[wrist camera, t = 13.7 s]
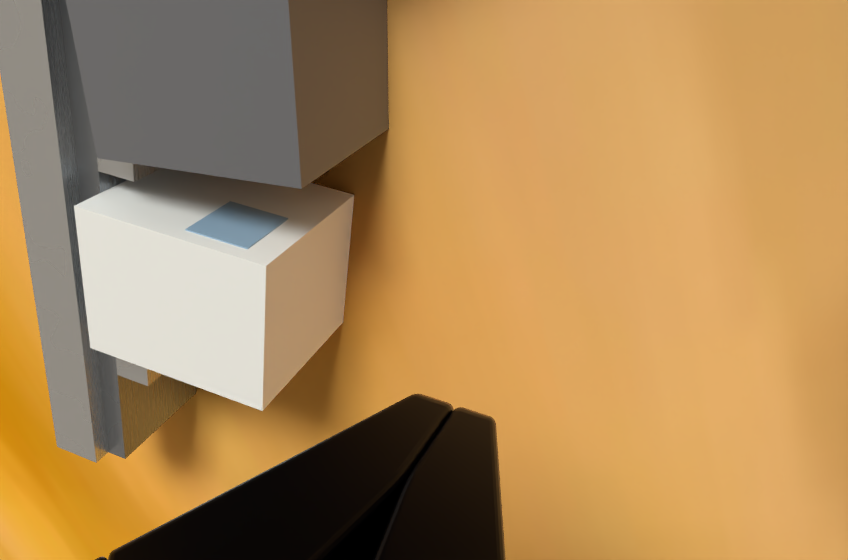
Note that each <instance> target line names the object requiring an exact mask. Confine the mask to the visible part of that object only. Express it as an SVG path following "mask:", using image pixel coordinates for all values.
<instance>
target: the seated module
mask: <svg viewBox="0 0 848 560" xmlns="http://www.w3.org/2000/svg"><path fill="white" fill-rule="evenodd" d="M66 4H67V9H68V14H69V19H70V24H71V29H72V34H73V39H74V44H75V49H76V54H77V59H78V64H79V69H80V74H81V79H82V84H83V89H84V94H85V100H86V105H87V110H88V115H89V120H90V125H91V130H92V135H93V140H94V145H95V150H96V155H97V158H99V159H106V160H112V161H119V162H126V163H132V164H139V165H146V166H152V167H159V168H166V169H172V170H179V171H186V172H192V173H199V174H206V175H212V176H219V177H226V178H232V179H239V180H245V181H252V182H259V183H265V184H272V185H279V186H285V187H292V188H299V189H302V188H304V187H305V186H307V185H308V184H309V183H311V182H312V181H314V180H315V179H317V178H318V177H320V176H321V175H322V174H324V173H325V172H327V171H328V170H330V169H331V168H333V167H334V166H335V165H337V164H338V163H340V162H341V161H343V160H344V159H346V158H347V157H349V156H350V155H351V154H353V153H354V152H356V151H357V150H359V149H360V148H362V147H363V146H364V145H366V144H367V143H369V142H370V141H372V140H373V139H375V138H376V137H377V136H379V135H380V134H382V133H383V132H385V131H386V130H388V129H389V115H388V38H387V0H66Z"/></svg>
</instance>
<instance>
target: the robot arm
mask: <svg viewBox="0 0 848 560" xmlns="http://www.w3.org/2000/svg"><path fill="white" fill-rule="evenodd" d="M95 560H107V558H105V557H99V558H97V559H95ZM108 560H505V546H504V532H503V518H502V504H501V490H500V476H499V462H498V447H497V433H496V423H495V421H494V419H493V418H492V417H490V416H487V415H484V414H481V413H478V412H475V411H472V410H469V409H465V408H461V407H460V408H456V409H455V410H454V409H453V407H452V406H451V404H449V403H447V402H444V401H441V400H438V399H435V398H432V397H428V396H425V395H422V394H414V395H411V396H409V397H407V398H405V399H403V400H401V401H399V402H397V403H395V404H393V405H391V406H389V407H388V408H386V409H384V410H382V411H380V412H378V413H376V414H374V415H372V416H370V417H368V418H366V419H365V420H363V421H361V422H359V423H357V424H355V425H353V426H351V427H349V428H347V429H345V430H343V431H342V432H340V433H338V434H336V435H334V436H332V437H330V438H328V439H326V440H324V441H322V442H320V443H318V444H317V445H315V446H313V447H311V448H309V449H307V450H305V451H303V452H301V453H299V454H297V455H295V456H294V457H292V458H290V459H288V460H286V461H284V462H282V463H280V464H278V465H276V466H274V467H272V468H271V469H269V470H267V471H265V472H263V473H261V474H259V475H257V476H255V477H253V478H251V479H249V480H247V481H246V482H244V483H242V484H240V485H238V486H236V487H234V488H232V489H230V490H228V491H226V492H224V493H223V494H221V495H219V496H217V497H215V498H213V499H211V500H209V501H207V502H205V503H203V504H201V505H200V506H198V507H196V508H194V509H192V510H190V511H188V512H186V513H184V514H182V515H180V516H178V517H177V518H175V519H173V520H171V521H169V522H167V523H165V524H163V525H161V526H159V527H157V528H155V529H153V530H152V531H150V532H148V533H146V534H144V535H142V536H140V537H138V538H136V539H134V540H132V541H130V542H129V543H127V544H125V545H123V546H121V547H119V548H117V549H115V550H113V551H112V552H111V553H110V555H109V558H108Z"/></svg>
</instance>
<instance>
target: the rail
mask: <svg viewBox="0 0 848 560" xmlns="http://www.w3.org/2000/svg"><path fill="white" fill-rule="evenodd" d="M0 74H1V80H2V87H3V93H4V100H5V107H6V113H7V120H8V126H9V133H10V139H11V146H12V153H13V159H14V166H15V172H16V179H17V185H18V192H19V199H20V205H21V212H22V218H23V225H24V231H25V238H26V244H27V251H28V258H29V264H30V271H31V277H32V284H33V290H34V297H35V304H36V310H37V317H38V323H39V330H40V336H41V343H42V350H43V356H44V363H45V369H46V376H47V382H48V389H49V395H50V402H51V409H52V415H53V422H54V428H55V435H56V441H57V447H59V448H62V449H64V450H67V451H69V452H72V453H74V454H76V455H79V456H81V457H84V458H86V459H89V460H91V461H94V462H96V463H97V462H98V461H99V460H100V459H101V458H102V457H103V456H104V455H106V454H107V453H108V452H110V453H112V454H115V455H117V456H120V457H122V458H124V459H126V458H127V457H128V456H129V455H130V454H131V453H132V452H133V451H134V450H135V449H136V448H137V447H138V446H140V445H141V444H142V443H143V442H144V441H145V440H146V439H147V438H148V437H149V436H150V435H151V434H152V433H154V432H155V431H156V430H157V429H158V428H159V427H160V426H161V425H162V424H163V423H164V422H165V421H166V420H167V419H169V418H170V417H171V416H172V415H173V414H174V413H175V412H176V411H177V410H178V409H179V408H180V407H181V406H183V405H184V404H185V403H186V402H187V401H188V400H189V399H190V398H191V397H192V396H193V395H194V394H195V393H196V386H193V385H190V384H187V383H185V382H182V381H179V380H176V379H174V378H171V377H168V376H166V375H163V374H160V373H157V372H155V371H152V370H149V369H146V368H144V367H141V366H138V365H136V364H133V363H130V362H127V361H125V360H122V359H119V358H116V357H114V356H111V355H108V354H105V353H103V352H100V351H97V350H95V349H92V348H90V341H89V332H88V323H87V315H86V306H85V298H84V289H83V280H82V272H81V263H80V254H79V246H78V237H77V228H76V220H75V211H74V206H75V205H77V204H79V203H81V202H83V201H85V200H87V199H89V198H91V197H93V196H95V195H97V194H99V193H101V192H104V191H106V190H108V189H110V188H112V187H114V186H116V185H118V184H120V183H122V182H124V181H126V180H130V181H133V182H135V181H137V180H139V179H141V178H143V177H145V176H147V175H149V174H151V173H153V172H155V171H157V170H159V169H161V168H159V167H152V166H146V165H139V164H132V163H126V162H119V161H112V160H106V159H99V158H97V155H96V150H95V145H94V140H93V135H92V130H91V125H90V120H89V115H88V110H87V105H86V100H85V94H84V89H83V84H82V79H81V74H80V69H79V64H78V59H77V54H76V49H75V44H74V39H73V34H72V29H71V24H70V19H69V14H68V9H67V4H66V0H0Z"/></svg>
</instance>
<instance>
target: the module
mask: <svg viewBox="0 0 848 560" xmlns="http://www.w3.org/2000/svg"><path fill="white" fill-rule="evenodd" d="M353 205H354V195H353V194H349V193H346V192H342V191H339V190H335V189H331V188H328V187H324V186H321V185H317V184H313V183H309V184H308V185H307V186H305V187H304V188H302V189H299V188H292V187H285V186H279V185H272V184H265V183H259V182H252V181H245V180H239V179H232V178H226V177H219V176H212V175H206V174H199V173H192V172H186V171H179V170H172V169H166V168H161V169H159V170H157V171H155V172H153V173H151V174H149V175H147V176H145V177H143V178H141V179H139V180H137V181H135V182H133V181H130V180H126V181H124V182H122V183H120V184H118V185H116V186H114V187H112V188H110V189H108V190H106V191H104V192H101V193H99V194H97V195H95V196H93V197H91V198H89V199H87V200H85V201H83V202H81V203H79V204H77V205H75V206H74V211H75V220H76V228H77V237H78V246H79V254H80V263H81V272H82V280H83V289H84V298H85V306H86V315H87V323H88V332H89V341H90V348H92V349H95V350H97V351H100V352H103V353H105V354H108V355H111V356H114V357H116V358H119V359H122V360H125V361H127V362H130V363H133V364H136V365H138V366H141V367H144V368H146V369H149V370H152V371H155V372H157V373H160V374H163V375H166V376H168V377H171V378H174V379H176V380H179V381H182V382H185V383H187V384H190V385H193V386H196V387H198V388H201V389H204V390H207V391H209V392H212V393H215V394H217V395H220V396H223V397H226V398H228V399H231V400H234V401H237V402H239V403H242V404H245V405H248V406H250V407H253V408H256V409H258V410H261V411H263V410H264V409H265V408H266V407H267V405H268V404H269V403H270V402H271V401H272V400H273V399H274V398H275V397H276V396H277V394H278V393H279V392H280V391H281V390H282V389H283V388H284V387H285V386H286V385H287V383H288V382H289V381H290V380H291V379H292V378H293V377H294V376H295V375H296V374H297V372H298V371H299V370H300V369H301V368H302V367H303V366H304V365H305V364H306V363H307V361H308V360H309V359H310V358H311V357H312V356H313V355H314V354H315V353H316V352H317V350H318V349H319V348H320V347H321V346H322V345H323V344H324V343H325V342H326V341H327V339H328V338H329V337H330V336H331V335H332V334H333V333H334V332H335V331H336V329H337V328H338V327H339V326H340V325H341V324H342V323H343V318H344V306H345V295H346V284H347V272H348V261H349V250H350V239H351V227H352V216H353Z"/></svg>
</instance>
